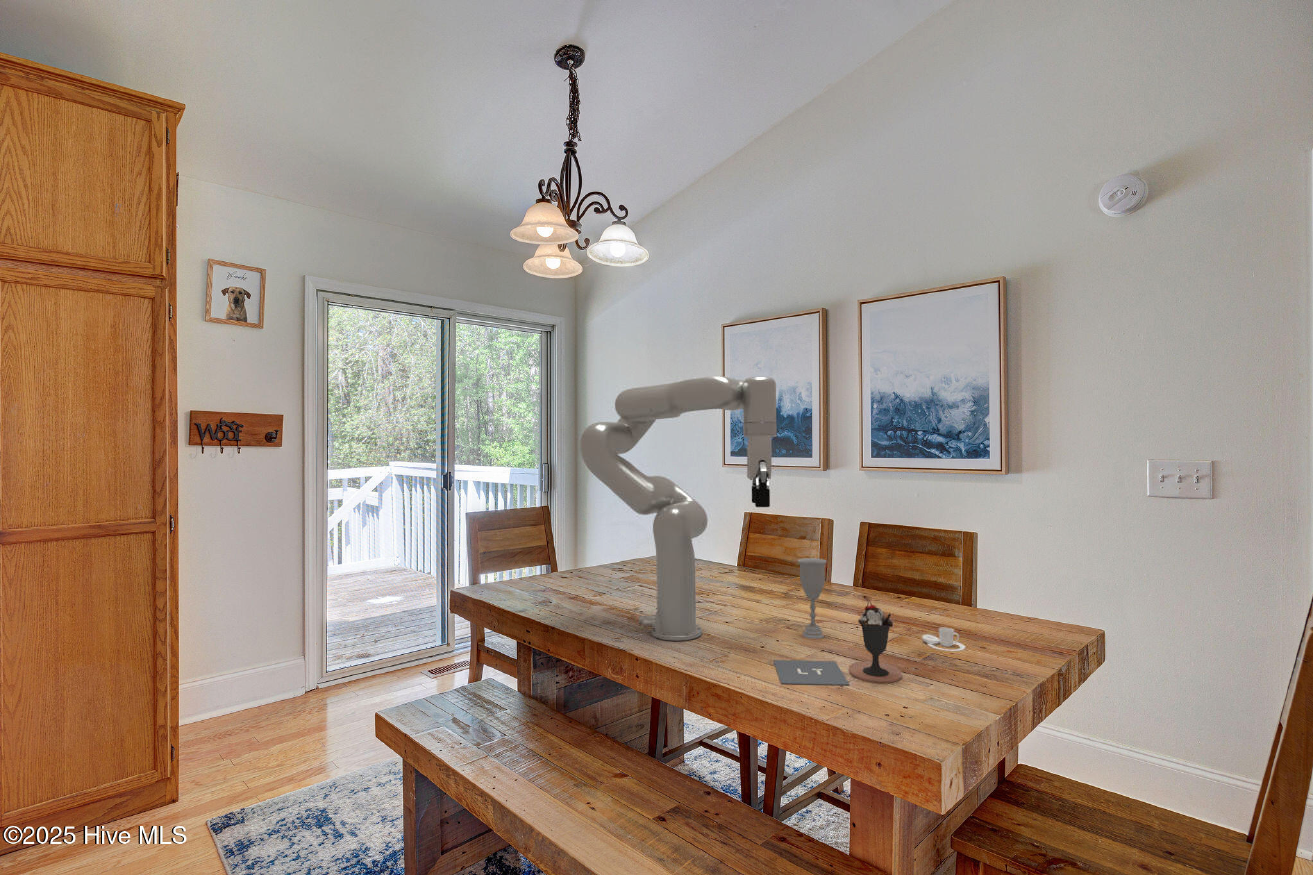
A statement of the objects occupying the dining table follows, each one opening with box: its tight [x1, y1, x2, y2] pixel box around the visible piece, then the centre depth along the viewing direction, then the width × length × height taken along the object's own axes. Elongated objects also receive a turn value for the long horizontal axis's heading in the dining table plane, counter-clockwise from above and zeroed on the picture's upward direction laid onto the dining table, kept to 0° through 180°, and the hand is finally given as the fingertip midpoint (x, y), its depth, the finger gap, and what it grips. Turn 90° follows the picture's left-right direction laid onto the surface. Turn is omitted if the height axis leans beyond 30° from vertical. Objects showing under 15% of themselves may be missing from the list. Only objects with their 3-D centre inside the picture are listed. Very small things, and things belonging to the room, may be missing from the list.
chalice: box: [797, 557, 828, 640], centre depth 153 cm, size 7×7×18 cm
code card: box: [773, 659, 851, 686], centre depth 129 cm, size 13×13×1 cm
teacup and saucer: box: [922, 627, 966, 652], centre depth 145 cm, size 9×8×4 cm
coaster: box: [848, 660, 903, 684], centre depth 128 cm, size 10×10×1 cm
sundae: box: [857, 595, 894, 677], centre depth 126 cm, size 7×7×15 cm
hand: (760, 504), depth 146 cm, fingers open, 9 cm apart
